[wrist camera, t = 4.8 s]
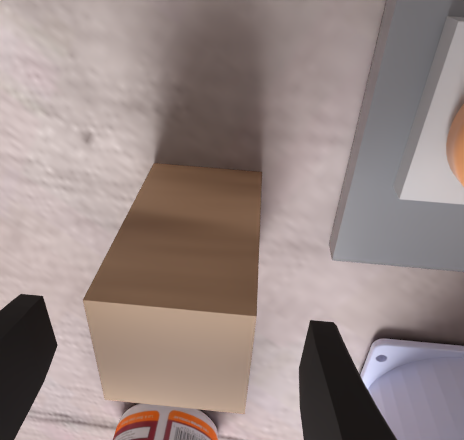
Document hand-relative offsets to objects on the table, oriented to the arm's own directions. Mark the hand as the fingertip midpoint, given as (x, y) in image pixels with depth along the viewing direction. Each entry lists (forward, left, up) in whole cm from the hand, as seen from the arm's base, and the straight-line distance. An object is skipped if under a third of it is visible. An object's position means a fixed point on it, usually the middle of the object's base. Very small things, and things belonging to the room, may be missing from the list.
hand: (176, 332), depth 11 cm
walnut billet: (0, 0, -6) cm, 6 cm away
